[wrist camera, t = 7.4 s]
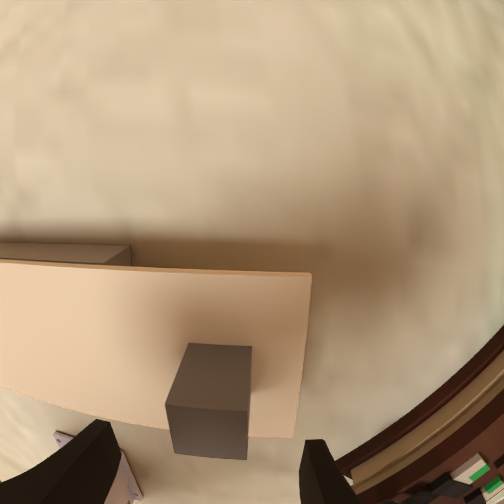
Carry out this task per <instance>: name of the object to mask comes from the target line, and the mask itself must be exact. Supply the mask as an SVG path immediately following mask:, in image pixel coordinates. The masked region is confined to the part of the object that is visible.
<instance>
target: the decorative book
mask: <svg viewBox="0 0 504 504" xmlns="http://www.w3.org/2000/svg"><path fill="white" fill-rule="evenodd" d="M335 462H336V464H337V466H338V468H339V469H340V471H341V473H342V474H343V475H344V476H346V477H348V478H350V479H352V480H353V484H354V485H352V486H351V488H352V489H353V491H354V492H355V493H356V495H357V496H358V497H359V499H360V500H361V501H362V502H363V504H486V502H487V501H488V500H489V499H491V498H492V497H494V496H495V495H496V494H498V493H499V492H500V491H501V490H503V489H504V325H503V326H502V327H501V329H500V330H499V331H498V332H497V333H496V334H495V335H494V336H493V337H492V338H491V339H490V340H489V341H488V342H487V344H486V345H485V346H484V347H483V348H482V349H481V350H480V351H479V352H478V353H477V354H476V355H475V356H474V357H473V358H472V359H470V360H469V361H468V362H467V363H466V364H465V365H464V366H463V367H462V368H461V369H460V370H459V371H458V372H457V373H456V374H454V375H453V376H452V377H451V378H450V379H449V380H448V381H447V382H445V383H444V384H443V385H442V386H441V387H440V388H438V389H437V390H436V391H435V392H434V393H432V394H431V395H430V396H429V397H428V398H426V399H425V400H424V401H423V402H421V403H420V404H419V405H418V406H416V407H415V408H414V409H412V410H411V411H410V412H408V413H407V414H406V415H404V416H403V417H402V418H400V419H399V420H398V421H396V422H395V423H393V424H392V425H391V426H389V427H388V428H386V429H385V430H383V431H382V432H381V433H379V434H378V435H376V436H375V437H373V438H372V439H370V440H369V441H367V442H365V443H364V444H362V445H361V446H359V447H358V448H356V449H354V450H353V451H351V452H349V453H348V454H346V455H344V456H343V457H341V458H339V459H338V460H336V461H335Z"/></svg>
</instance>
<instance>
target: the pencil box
mask: <svg viewBox="0 0 504 504" xmlns="http://www.w3.org/2000/svg"><path fill="white" fill-rule="evenodd" d="M0 259H6V260H21V261H37V262H54V263H71V264H90V265H109V266H130V267H132V263H131V251H130V245H99V244H55V243H9V242H0Z"/></svg>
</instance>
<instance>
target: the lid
mask: <svg viewBox="0 0 504 504" xmlns="http://www.w3.org/2000/svg"><path fill="white" fill-rule="evenodd" d="M311 285H312V276H311V273H305V272H266V271H232V270H203V269H177V268H152V267H130V266H109V265H90V264H71V263H54V262H37V261H21V260H6V259H0V386H2V387H4V388H7V389H10V390H12V391H15V392H18V393H20V394H23V395H26V396H29V397H32V398H35V399H38V400H41V401H44V402H47V403H50V404H53V405H57V406H60V407H64V408H67V409H71V410H74V411H78V412H82V413H86V414H90V415H94V416H98V417H102V418H107V419H111V420H116V421H120V422H125V423H131V424H136V425H142V426H147V427H153V428H160V429H167V430H170V434H171V439H172V443H173V448H174V452H175V453H176V454H184V455H192V456H200V457H211V458H222V459H238V460H247V448H248V437H268V438H293V435H294V428H295V422H296V415H297V408H298V401H299V394H300V386H301V379H302V371H303V363H304V354H305V346H306V337H307V327H308V318H309V307H310V297H311Z"/></svg>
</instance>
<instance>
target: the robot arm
mask: <svg viewBox="0 0 504 504" xmlns="http://www.w3.org/2000/svg"><path fill="white" fill-rule="evenodd" d="M53 435H54V438H55V440H56V442H57V443H58V445H59V447H60V449H59V450H58V451H57V452H55V453H54V454H52V455H51V456H50V457H48V458H47V459H45V460H44V461H43V462H41V463H40V464H38V465H36V466H35V467H33V468H31V469H30V470H28V471H26V472H24V473H22V474H20V475H18V476H16V477H14V478H11V479H9V480H7V481H4V482H2V483H0V504H133V501H134V500H138V501H142V500H143V496H142V494H141V492H140V490H139V487H138V485H137V483H136V481H135V478H134V476H133V474H132V471H131V469H130V467H129V464H128V462H127V459H126V457H125V454H124V452H123V451H121V450H120V448H119V446H118V443H117V440H116V438H115V435H114V432H113V429H112V427H111V424H110V422H107V421H103V420H99V419H96V420H94V421H93V422H92V423H91V424H89V425H88V426H87V427H86V428H85V429H84V430H82V431H81V432H80V433H79V434H78V435H76V436H75V437H71V436H68V435H65V434H61V433H58V432H55V433H54V434H53ZM299 488H300V499H301V504H363V502H362V501H361V500H360V499H359V497H358V496H357V495H356V493H355V492H354V491H353V489H352V488H351V486H350V485H349V483H348V482H347V480H346V479H345V477H344V476H343V474H342V473H341V471H340V469H339V468H338V466H337V464H336V462H335V461H334V459H333V457H332V455H331V453H330V451H329V449H328V447H327V445H326V442H325V441H324V440H323V439H317V440H305V445H304V450H303V455H302V459H301V464H300V469H299Z"/></svg>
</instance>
